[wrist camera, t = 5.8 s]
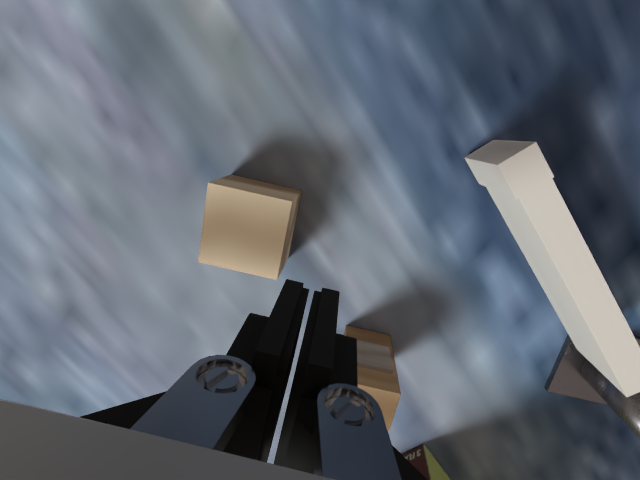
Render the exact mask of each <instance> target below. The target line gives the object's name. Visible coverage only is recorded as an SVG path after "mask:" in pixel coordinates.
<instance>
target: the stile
mask: <svg viewBox="0 0 640 480" xmlns="http://www.w3.org/2000/svg"><path fill="white" fill-rule="evenodd" d="M344 335H345V336H349V337H353V338H356V339H357V376H358V388H360V389H362V390H364V391H366V392H367V393H368V394H370V395H371V396H372V397H373V398H374V399H375V400H376V401H377V402H378V404H379V406H380V408H381V410H382V414H383V417H384V421H385V424H386V427H387V430H390V427H391V424H392V421H393V417H394V414H395V411H396V408H397V405H398V401H399V398H400V395H401V392H400V387H399V382H398V376H397V371H396V365H395V360H394V355H393V349H392V344H391V338H390V335H387V334H382V333H378V332H373V331H369V330H365V329H360V328H356V327H351V326H347V325H346V329H345V333H344Z"/></svg>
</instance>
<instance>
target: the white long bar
mask: <svg viewBox="0 0 640 480" xmlns="http://www.w3.org/2000/svg"><path fill="white" fill-rule="evenodd" d="M464 158H465V160H466V162H467V163H468V165H469V167H470V169H471V171H472V172H473V174H474V176H475V178H476V179H477V181H478V183H479V184H480V185H483V186H485V187H486V188H487V190H488V192H489V193H490V195H491V197H492V199H493V200H494V202H495V204H496V206H497V208H498V209H499V211H500V213H501V215H502V217H503V218H504V220H505V222H506V224H507V226H508V227H509V229H510V231H511V233H512V234H513V236H514V238H515V240H516V242H517V243H518V245H519V247H520V249H521V251H522V252H523V254H524V256H525V258H526V259H527V261H528V263H529V265H530V267H531V268H532V270H533V272H534V274H535V276H536V277H537V279H538V281H539V283H540V284H541V286H542V288H543V290H544V292H545V293H546V295H547V297H548V299H549V301H550V302H551V304H552V306H553V308H554V310H555V311H556V313H557V315H558V317H559V318H560V320H561V322H562V324H563V326H564V327H565V329H566V331H567V333H568V335H569V336H570V338H571V340H572V342H573V343H574V345H575V347H576V349H577V350H578V351H579V352H580V353H581V354H582V355H583V356H584V357H585V358H586V359H587V360H588V361H589V362H590V363H592V364H593V365H594V366H595V367H596V368H597V369H598V370H599V371H600V372H601V373H602V374H603V375H604V376H605V377H606V378H607V379H608V380H609V381H610V382H611V383H612V384H613V385H614V386H615V387H616V388H617V389H618V390H619V391H621V392H622V393H623V394H624V395H625V396H626V397H629V396H632V395H634V394H636V393H639V392H640V347H639V345H638V343H637V341H636V339H635V337H634V335H633V333H632V331H631V329H630V327H629V325H628V323H627V322H626V320H625V318H624V316H623V314H622V312H621V310H620V308H619V306H618V304H617V302H616V300H615V298H614V296H613V295H612V293H611V291H610V289H609V287H608V285H607V283H606V281H605V279H604V277H603V275H602V273H601V271H600V270H599V268H598V266H597V264H596V262H595V260H594V258H593V256H592V254H591V252H590V250H589V248H588V246H587V244H586V243H585V241H584V239H583V237H582V235H581V233H580V231H579V229H578V227H577V225H576V223H575V221H574V219H573V217H572V216H571V214H570V212H569V210H568V208H567V206H566V204H565V202H564V200H563V198H562V196H561V194H560V192H559V190H558V189H557V187H556V185H555V183H554V181H553V179H552V178H554V175H553V173H552V172H551V170H550V168H549V166H548V164H547V162H546V160H545V158H544V156H543V154H542V152H541V150H540V148H539V146H538V144H537V143H536V142H528V141H508V140H492V141H491V142H489V143H487V144H486V145H484V146H482V147H481V148H479V149H477V150H476V151H474V152H473V153H471V154H469V155H468V156H466V157H464Z"/></svg>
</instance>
